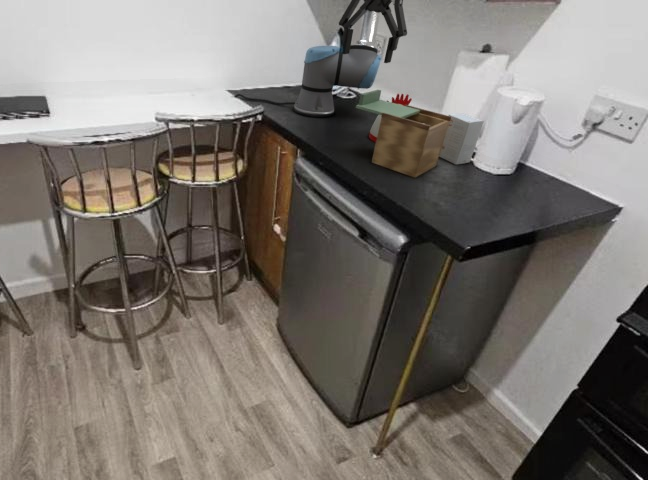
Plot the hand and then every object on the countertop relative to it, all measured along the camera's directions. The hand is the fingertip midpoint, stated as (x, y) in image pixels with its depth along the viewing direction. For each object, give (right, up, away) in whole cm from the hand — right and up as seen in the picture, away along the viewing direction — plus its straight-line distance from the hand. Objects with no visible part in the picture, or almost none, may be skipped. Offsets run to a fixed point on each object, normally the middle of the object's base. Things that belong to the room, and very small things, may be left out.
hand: (365, 58), depth 132 cm
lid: (+6, -15, +1) cm, 16 cm away
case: (+12, -30, +3) cm, 33 cm away
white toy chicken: (+14, -18, +22) cm, 32 cm away
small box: (+30, -27, +10) cm, 41 cm away
